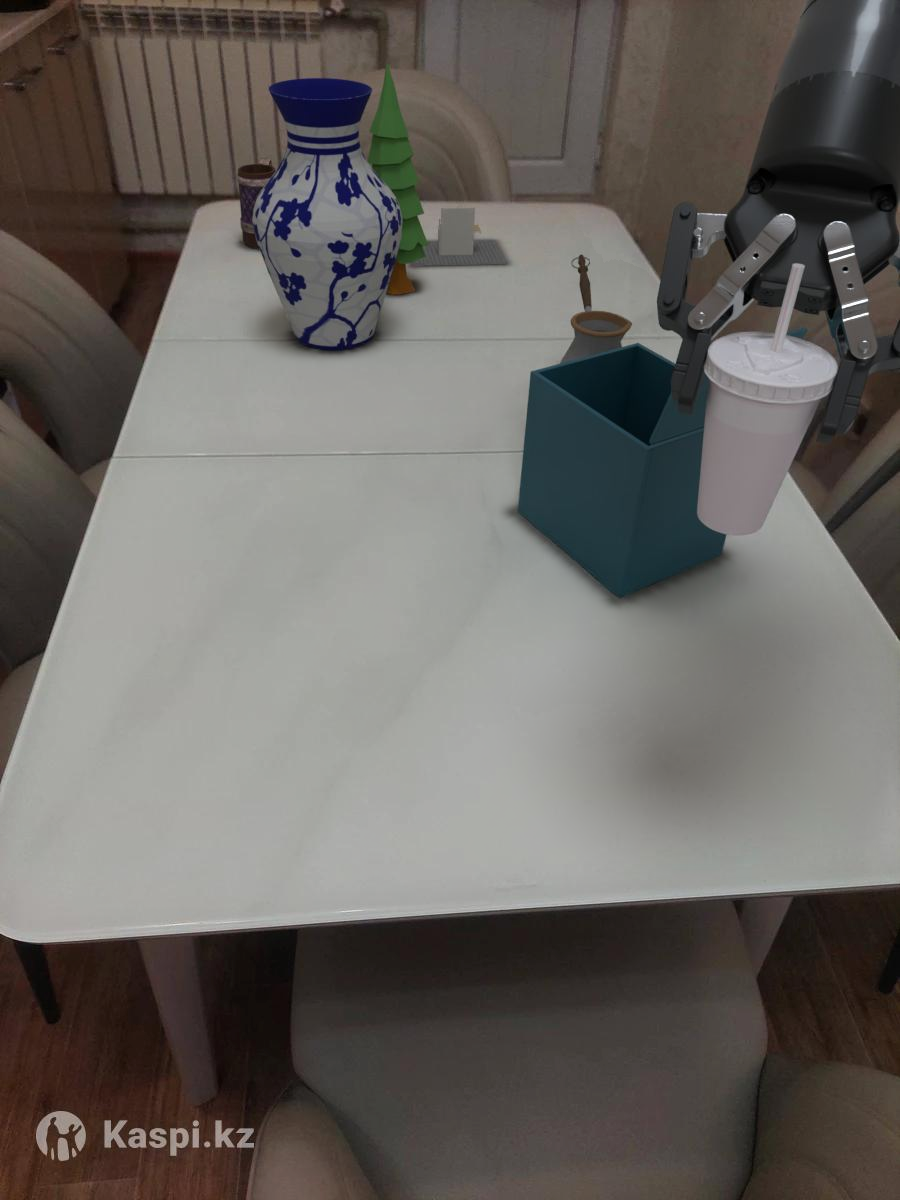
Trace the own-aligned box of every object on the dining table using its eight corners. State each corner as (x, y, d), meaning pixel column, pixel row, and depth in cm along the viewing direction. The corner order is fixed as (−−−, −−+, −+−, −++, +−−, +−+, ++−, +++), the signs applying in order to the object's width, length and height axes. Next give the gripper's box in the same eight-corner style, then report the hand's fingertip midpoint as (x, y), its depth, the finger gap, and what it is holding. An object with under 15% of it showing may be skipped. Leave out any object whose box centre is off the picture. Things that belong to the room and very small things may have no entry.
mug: (277, 251, 147) (270, 173, 140) (236, 247, 148) (227, 170, 140) (296, 231, 155) (290, 157, 147) (257, 228, 156) (249, 154, 148)
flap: (762, 403, 76) (764, 406, 76) (648, 441, 71) (651, 444, 71) (805, 326, 70) (808, 329, 70) (684, 361, 65) (687, 364, 64)
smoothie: (801, 506, 51) (880, 262, 42) (770, 564, 47) (852, 306, 38) (694, 474, 54) (747, 237, 45) (656, 527, 50) (707, 276, 41)
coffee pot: (643, 452, 101) (667, 325, 91) (542, 451, 100) (556, 323, 91) (610, 368, 117) (628, 253, 108) (523, 367, 117) (533, 251, 107)
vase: (268, 368, 115) (239, 107, 95) (262, 309, 129) (236, 72, 109) (413, 359, 118) (414, 105, 98) (392, 303, 132) (389, 71, 112)
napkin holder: (436, 248, 151) (437, 202, 146) (476, 247, 152) (479, 201, 147) (439, 255, 148) (440, 208, 143) (480, 254, 149) (482, 207, 144)
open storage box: (721, 555, 86) (761, 411, 76) (618, 598, 81) (648, 450, 71) (614, 477, 97) (638, 342, 87) (517, 511, 91) (530, 371, 81)
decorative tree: (380, 273, 141) (375, 54, 122) (436, 280, 139) (440, 59, 120) (359, 295, 134) (350, 66, 115) (418, 303, 132) (419, 72, 113)
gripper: (703, 52, 44) (608, 369, 43) (1023, 80, 40) (924, 432, 39) (702, 145, 51) (620, 418, 51) (973, 177, 47) (889, 475, 46)
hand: (754, 423), depth 45 cm, fingers closed on smoothie, 6 cm apart
